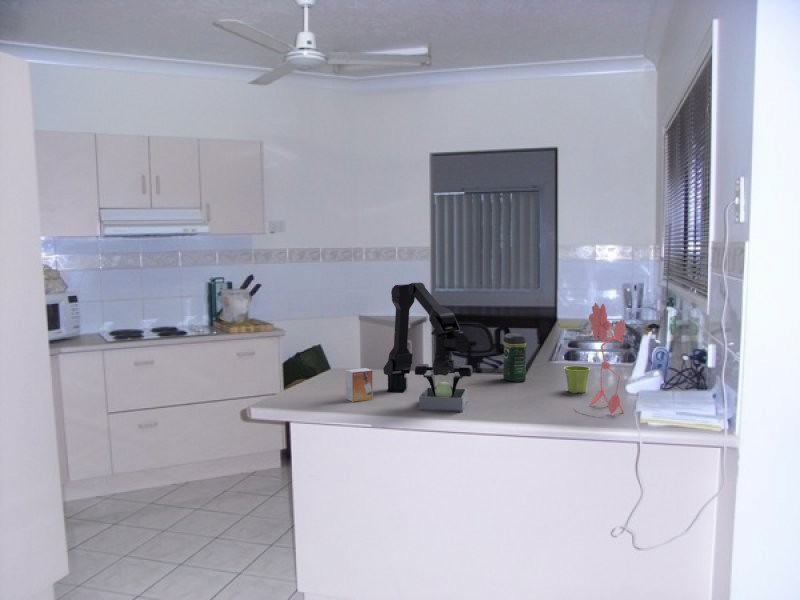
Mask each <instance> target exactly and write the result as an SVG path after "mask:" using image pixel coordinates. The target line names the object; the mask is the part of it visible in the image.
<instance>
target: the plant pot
mask: <svg viewBox="0 0 800 600" xmlns="http://www.w3.org/2000/svg"><path fill="white" fill-rule="evenodd" d="M563 370H564V373H565V375H566V376H565V377H566V382H567V384H566V385H567V391H569V392H570V393H574V394H579V393H581V394H583V393H586V391H587V384H588V377H589V374H590V370H591V368H590V367H588V366H582V365H570V366H569V365H567V366H564V367H563Z"/></svg>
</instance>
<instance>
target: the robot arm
mask: <svg viewBox="0 0 800 600" xmlns="http://www.w3.org/2000/svg"><path fill="white" fill-rule="evenodd" d="M390 295H391V302H392V303H393V306H394V308H395V317H394V318H395V319H394V333H393V334H394V336H393V347H392V349H391V350H390V351H389V353H388V359H387V362H386V364H385V365H384V366H383V368H382V370H383V375H386V376H387V389H386V392H393V393H405V391H407V390H408V377H407V374H410V372H411V369H412V365H413V353H412V352H410V350H409V348H408V343H409V342H408V340H409V323H410V310H411V307H412V306H413V304H414V303H415V300H416V301H417V302H418V303H419V304H420V305H421V306H422V308H423V309H424V310H425V312H426V313H427V314H428V320H429V322H430V325H431V326H432V327H433V330H432V332H431V335H433V336H434V359H433V365H432V366H430V364H429V363H418V364H417V365H416V366H415V367H414V375H417V376H423V378H426V380H427V381H428V383H429V386H430V388H432V391H433V394H434V395H436V394H435V388H436V386H437V385H436V377H435V376H439V375H440V376H448V375H449V374H454V375H453V376H452V378H453V379H452V381H453V382H452V396H454V393H455V390H456V388H457V386H458V383H459V381H460V379H461V380H462V379H463V378H464V377H472V374H473V366H472V365H470V364H468V365H467V364H460V365H459V366H458V367H456V365H455V360H454V359H453V352H454V353H456V354H457V353H458V354H464V353H467V351H468V350H469V348H470V341H469V338H468V337H467V336H465V331H462V329H461V326H460V325H459V323H458V320H457V319H456V315H455V313H454V312H453V311H452V310H451V309H449V308H448V307H445V306H443V305H441V304H440V303H439V302H438V301H437V300H436V299H435V297H434V296H433V295H432V294H431V292H430V291H429V290H428V289H427V288H426V286H425V284H424V283H423V282H410V283H408V284H407V283H406V284H394V285H393V286H392V287H391V292H390Z"/></svg>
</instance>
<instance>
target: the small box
mask: <svg viewBox="0 0 800 600" xmlns="http://www.w3.org/2000/svg"><path fill="white" fill-rule="evenodd" d="M373 377H374V376H373V369H369V368H367V367H364V368H355V369H345V386H346V387H345V398H346V400H348V401H350V402H352V403H353V402H361V401H372V400H373V399H374V398H373V397H374V396H373V394H374V393H373V392H374V390H373V388H374V387H373V386H374V385H373V383H374V382H373Z"/></svg>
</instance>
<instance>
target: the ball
mask: <svg viewBox="0 0 800 600" xmlns="http://www.w3.org/2000/svg"><path fill="white" fill-rule="evenodd" d="M435 386H436V388H435V394H436V396H437V397H451V396H452V388H453V385H451V384H450V383H448V382H447V381H441V382H439V383H437V384H436V385H435Z"/></svg>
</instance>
